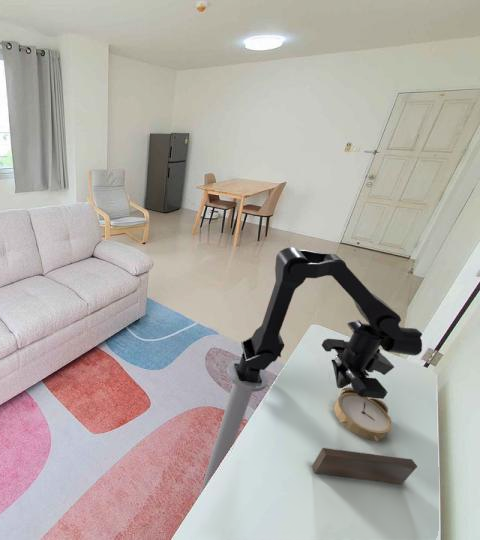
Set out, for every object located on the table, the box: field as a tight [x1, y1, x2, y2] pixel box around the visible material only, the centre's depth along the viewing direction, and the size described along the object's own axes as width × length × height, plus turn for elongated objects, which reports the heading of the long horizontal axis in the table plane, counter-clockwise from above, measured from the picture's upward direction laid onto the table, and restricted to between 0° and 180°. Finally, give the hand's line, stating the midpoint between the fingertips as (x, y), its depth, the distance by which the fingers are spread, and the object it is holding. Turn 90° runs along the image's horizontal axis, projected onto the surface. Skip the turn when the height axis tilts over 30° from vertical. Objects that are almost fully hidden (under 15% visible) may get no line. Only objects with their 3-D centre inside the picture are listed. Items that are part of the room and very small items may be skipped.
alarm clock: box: [333, 386, 393, 442], centre depth 78 cm, size 11×5×15 cm
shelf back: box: [311, 447, 418, 486], centre depth 63 cm, size 2×18×7 cm, turn 84°
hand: (339, 387), depth 83 cm, fingers closed
